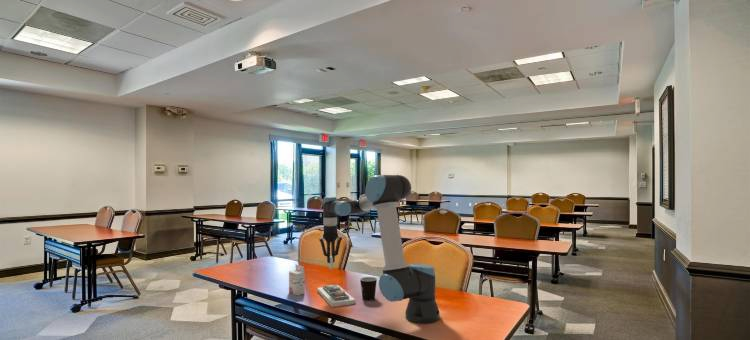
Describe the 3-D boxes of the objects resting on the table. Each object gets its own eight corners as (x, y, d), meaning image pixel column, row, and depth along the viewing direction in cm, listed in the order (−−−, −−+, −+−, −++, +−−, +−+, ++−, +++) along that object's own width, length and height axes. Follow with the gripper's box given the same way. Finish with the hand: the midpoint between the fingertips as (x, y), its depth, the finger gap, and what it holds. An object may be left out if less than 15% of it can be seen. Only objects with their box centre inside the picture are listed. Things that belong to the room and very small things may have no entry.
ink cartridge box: (288, 292, 209) (288, 265, 209) (296, 290, 213) (295, 264, 213) (297, 295, 203) (297, 268, 204) (305, 293, 207) (305, 266, 207)
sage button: (336, 289, 206) (336, 286, 206) (327, 290, 204) (327, 287, 204) (334, 287, 211) (334, 284, 211) (325, 288, 209) (325, 285, 209)
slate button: (341, 291, 199) (341, 288, 199) (332, 292, 197) (332, 289, 197) (338, 288, 203) (338, 285, 203) (329, 289, 201) (329, 286, 201)
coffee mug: (375, 301, 192) (374, 281, 192) (358, 300, 194) (358, 280, 194) (379, 294, 204) (379, 275, 204) (363, 293, 205) (363, 275, 206)
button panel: (355, 303, 189) (355, 296, 189) (331, 307, 185) (331, 300, 185) (338, 288, 215) (338, 282, 215) (317, 291, 210) (317, 285, 211)
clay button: (346, 295, 191) (346, 292, 191) (336, 296, 189) (336, 293, 189) (343, 292, 196) (343, 289, 196) (333, 294, 194) (333, 290, 194)
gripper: (339, 223, 214) (340, 266, 213) (316, 225, 209) (317, 268, 208) (343, 225, 207) (344, 268, 206) (320, 226, 202) (321, 271, 201)
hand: (331, 268), depth 207 cm, fingers closed
